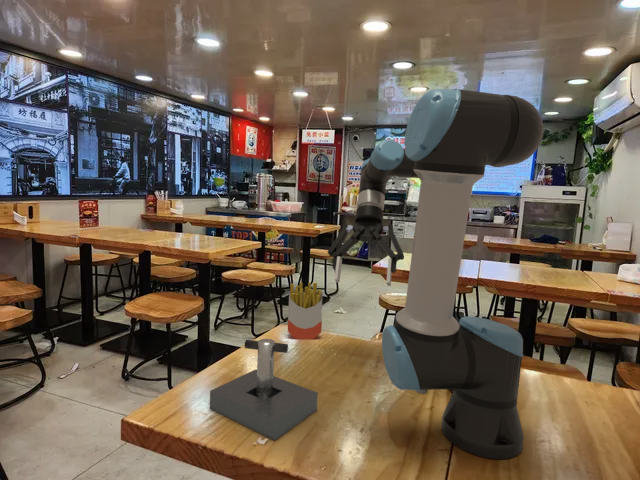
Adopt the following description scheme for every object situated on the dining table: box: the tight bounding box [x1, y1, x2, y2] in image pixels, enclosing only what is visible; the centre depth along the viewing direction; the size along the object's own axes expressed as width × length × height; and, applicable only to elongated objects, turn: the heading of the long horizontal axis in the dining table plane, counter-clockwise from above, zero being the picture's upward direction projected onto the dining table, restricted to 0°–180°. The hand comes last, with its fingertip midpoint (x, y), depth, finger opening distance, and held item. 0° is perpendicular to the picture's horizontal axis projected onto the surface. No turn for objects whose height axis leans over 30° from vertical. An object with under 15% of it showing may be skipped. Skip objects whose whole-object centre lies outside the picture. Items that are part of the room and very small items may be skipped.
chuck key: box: [244, 338, 289, 401], centre depth 85 cm, size 9×4×15 cm, turn 81°
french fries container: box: [287, 281, 324, 341], centre depth 130 cm, size 5×11×18 cm, turn 95°
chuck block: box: [209, 368, 319, 442], centre depth 85 cm, size 18×14×4 cm
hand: (362, 282), depth 103 cm, fingers open, 13 cm apart
